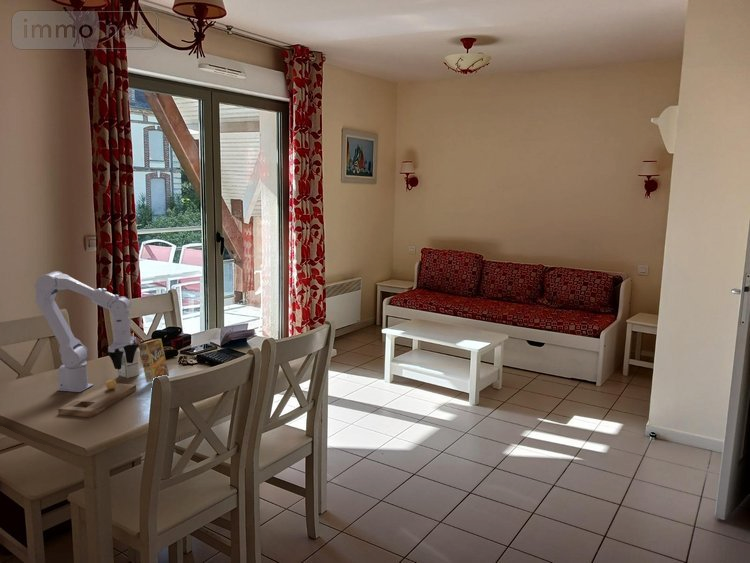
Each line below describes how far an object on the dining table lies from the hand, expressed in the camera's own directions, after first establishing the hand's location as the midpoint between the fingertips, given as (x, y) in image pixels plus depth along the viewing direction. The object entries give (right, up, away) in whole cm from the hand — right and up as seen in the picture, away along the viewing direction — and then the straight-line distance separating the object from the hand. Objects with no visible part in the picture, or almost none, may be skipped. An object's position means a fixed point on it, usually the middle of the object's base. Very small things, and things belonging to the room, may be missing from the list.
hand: (124, 365), depth 219 cm
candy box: (+10, -7, +8) cm, 14 cm away
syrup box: (-4, -6, +14) cm, 16 cm away
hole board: (-3, -11, -13) cm, 17 cm away
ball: (-2, -6, -7) cm, 9 cm away
